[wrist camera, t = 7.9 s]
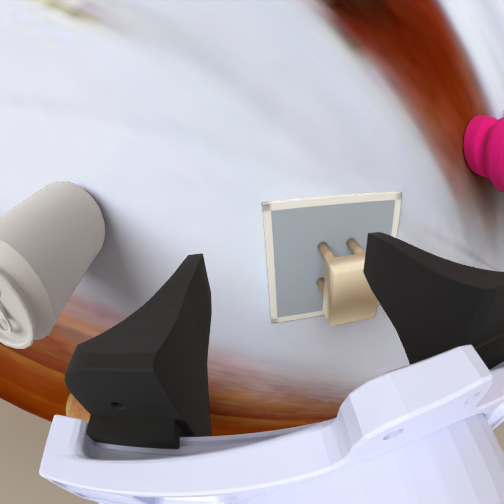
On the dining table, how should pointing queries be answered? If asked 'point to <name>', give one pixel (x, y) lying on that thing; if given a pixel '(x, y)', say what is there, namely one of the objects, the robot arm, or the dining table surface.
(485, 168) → the pepper mill
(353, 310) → the small wooden stool
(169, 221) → the dining table surface
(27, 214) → the can
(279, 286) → the mat
